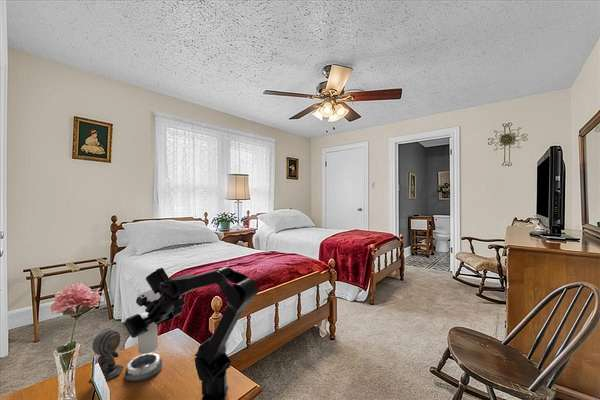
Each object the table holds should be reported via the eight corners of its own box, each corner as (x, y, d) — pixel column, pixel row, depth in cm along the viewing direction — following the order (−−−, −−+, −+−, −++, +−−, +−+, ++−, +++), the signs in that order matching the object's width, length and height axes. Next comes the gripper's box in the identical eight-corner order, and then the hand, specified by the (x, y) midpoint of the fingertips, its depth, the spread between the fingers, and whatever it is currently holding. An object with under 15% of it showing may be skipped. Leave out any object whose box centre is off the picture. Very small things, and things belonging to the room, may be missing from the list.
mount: (167, 360, 100) (166, 350, 99) (153, 381, 89) (153, 370, 88) (135, 361, 99) (135, 352, 99) (118, 383, 88) (117, 372, 88)
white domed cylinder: (159, 342, 99) (158, 310, 99) (156, 351, 94) (155, 317, 93) (140, 345, 97) (138, 312, 97) (136, 355, 92) (135, 320, 91)
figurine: (107, 385, 87) (105, 339, 86) (82, 380, 89) (80, 336, 88) (129, 367, 95) (128, 326, 95) (105, 364, 97) (104, 323, 97)
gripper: (176, 276, 102) (156, 301, 106) (126, 294, 85) (106, 322, 90) (192, 300, 98) (171, 324, 103) (144, 323, 82) (122, 351, 87)
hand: (145, 329), depth 96 cm, fingers closed on white domed cylinder, 6 cm apart
